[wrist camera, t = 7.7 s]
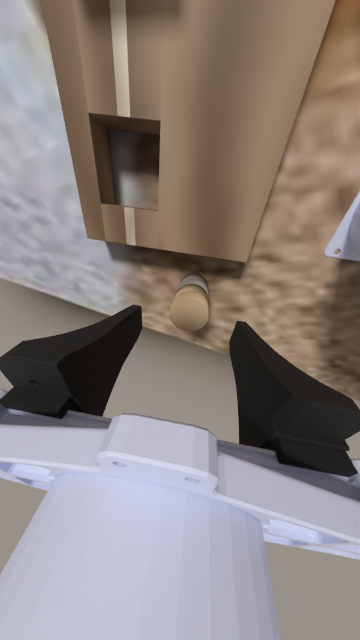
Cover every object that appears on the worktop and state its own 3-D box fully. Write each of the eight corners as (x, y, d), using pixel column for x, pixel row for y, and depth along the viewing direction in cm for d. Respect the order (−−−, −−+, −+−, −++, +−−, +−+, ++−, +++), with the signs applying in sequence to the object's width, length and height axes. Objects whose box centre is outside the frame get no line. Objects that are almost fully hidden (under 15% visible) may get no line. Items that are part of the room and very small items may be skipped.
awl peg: (211, 275, 17) (212, 301, 12) (205, 302, 19) (204, 334, 14) (181, 271, 17) (170, 294, 12) (178, 297, 19) (168, 327, 14)
